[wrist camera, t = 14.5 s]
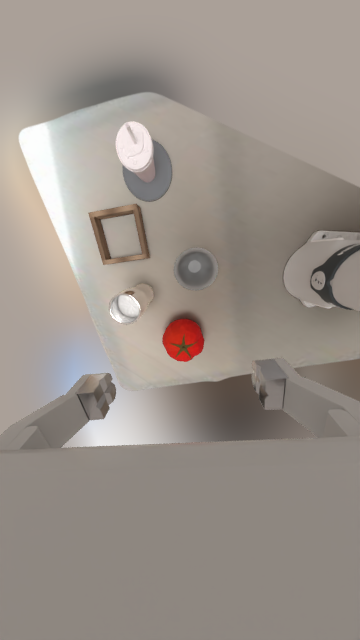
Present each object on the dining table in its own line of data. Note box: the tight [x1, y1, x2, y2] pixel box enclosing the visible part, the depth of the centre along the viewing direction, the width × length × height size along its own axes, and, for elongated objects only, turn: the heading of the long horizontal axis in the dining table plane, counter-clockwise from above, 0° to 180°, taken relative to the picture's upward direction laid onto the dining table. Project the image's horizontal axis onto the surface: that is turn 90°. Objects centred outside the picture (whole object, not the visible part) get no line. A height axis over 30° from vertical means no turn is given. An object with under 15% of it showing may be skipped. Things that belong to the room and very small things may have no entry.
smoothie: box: [116, 121, 155, 183], centre depth 31 cm, size 6×6×14 cm
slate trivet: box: [123, 140, 172, 202], centre depth 38 cm, size 11×11×1 cm
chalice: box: [174, 248, 218, 290], centre depth 36 cm, size 7×7×18 cm
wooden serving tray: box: [89, 204, 150, 265], centre depth 42 cm, size 12×12×3 cm
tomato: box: [163, 319, 204, 362], centre depth 46 cm, size 12×12×11 cm
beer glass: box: [109, 283, 154, 324], centre depth 41 cm, size 7×7×15 cm
